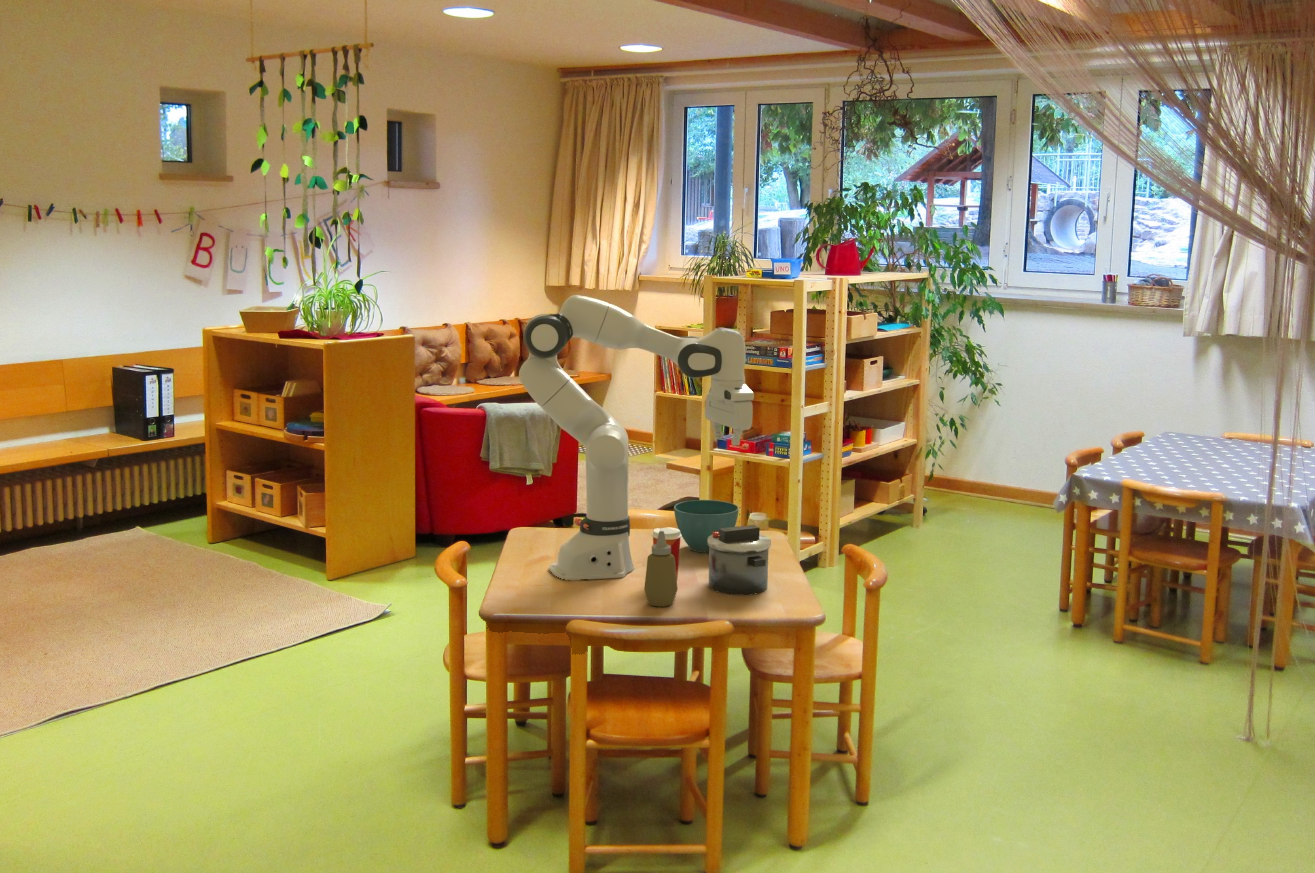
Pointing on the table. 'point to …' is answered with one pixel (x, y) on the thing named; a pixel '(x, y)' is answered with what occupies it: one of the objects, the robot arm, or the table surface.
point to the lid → (739, 540)
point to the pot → (738, 572)
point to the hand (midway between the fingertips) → (726, 441)
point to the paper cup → (670, 541)
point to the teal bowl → (703, 520)
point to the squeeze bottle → (661, 574)
